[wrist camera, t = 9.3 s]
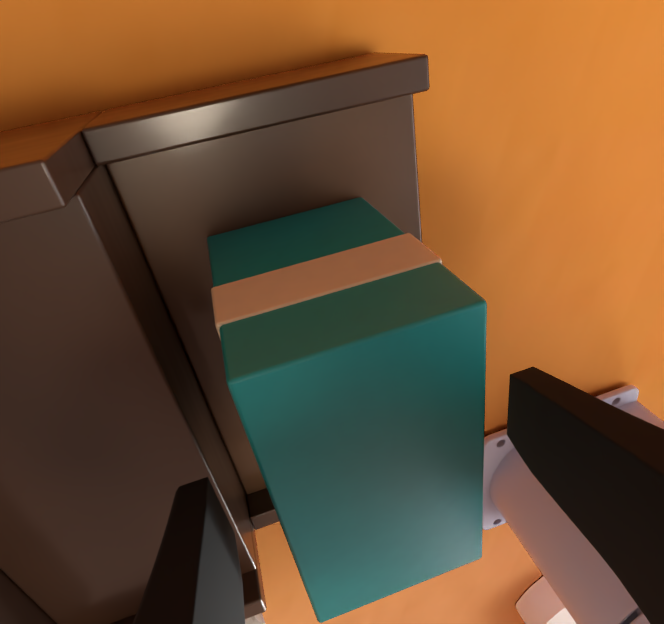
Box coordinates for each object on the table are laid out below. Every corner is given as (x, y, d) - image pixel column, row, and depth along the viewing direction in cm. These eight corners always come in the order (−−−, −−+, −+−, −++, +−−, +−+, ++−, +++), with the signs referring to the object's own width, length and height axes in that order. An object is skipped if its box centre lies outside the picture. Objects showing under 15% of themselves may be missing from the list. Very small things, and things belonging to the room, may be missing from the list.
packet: (362, 193, 13) (492, 297, 8) (390, 400, 17) (484, 559, 12) (203, 235, 12) (221, 381, 7) (273, 439, 17) (317, 627, 11)
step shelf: (376, 52, 14) (539, 57, 7) (410, 404, 22) (505, 551, 15) (-185, 170, 11) (-620, 320, 5) (81, 516, 19) (34, 742, 13)
